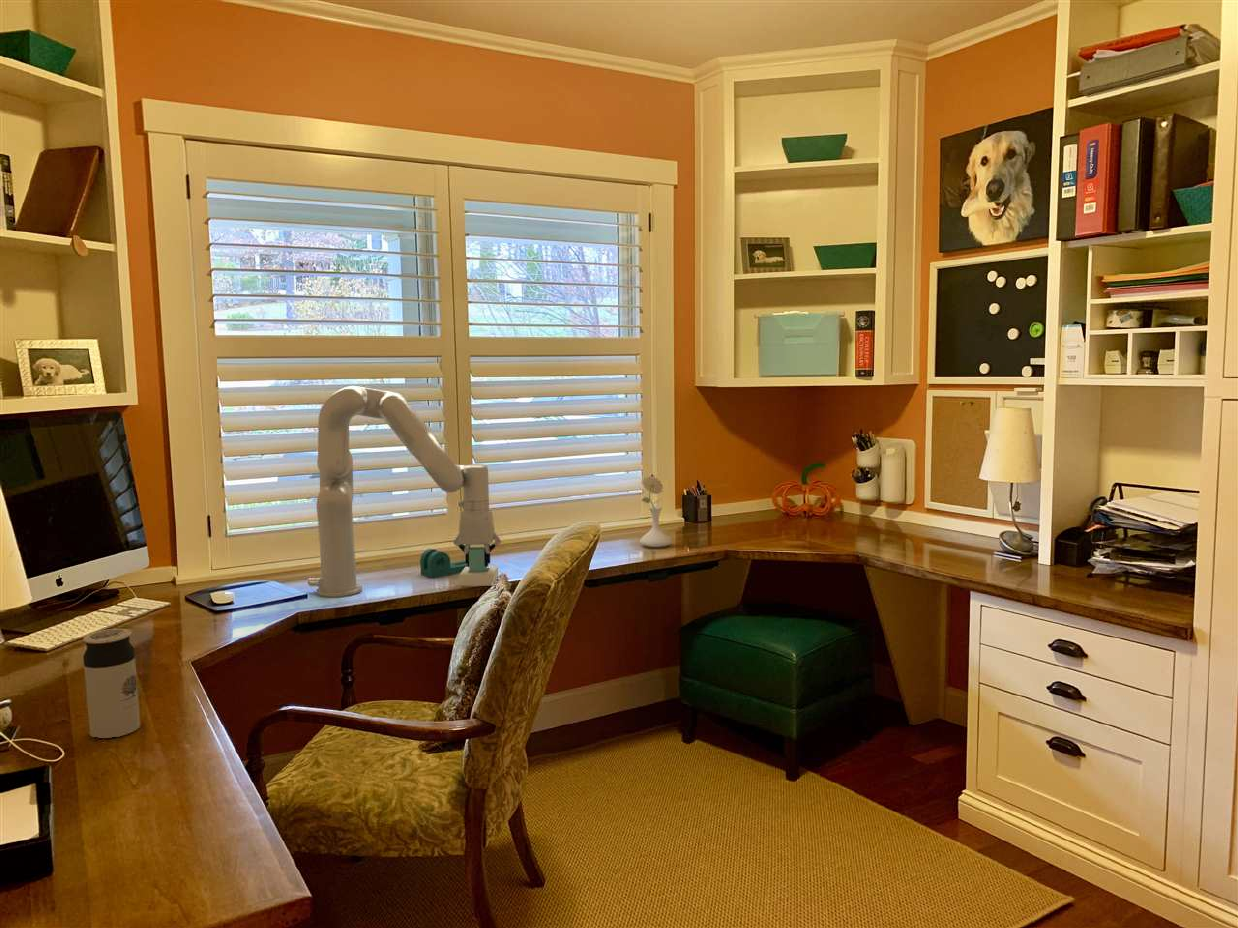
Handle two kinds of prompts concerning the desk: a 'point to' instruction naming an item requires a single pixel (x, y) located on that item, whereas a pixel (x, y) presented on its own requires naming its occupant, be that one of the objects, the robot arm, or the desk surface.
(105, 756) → the desk surface
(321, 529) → the robot arm
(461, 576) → the pocket block
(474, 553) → the teal peg
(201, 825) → the desk surface
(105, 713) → the travel mug
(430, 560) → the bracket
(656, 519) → the flower in vase
